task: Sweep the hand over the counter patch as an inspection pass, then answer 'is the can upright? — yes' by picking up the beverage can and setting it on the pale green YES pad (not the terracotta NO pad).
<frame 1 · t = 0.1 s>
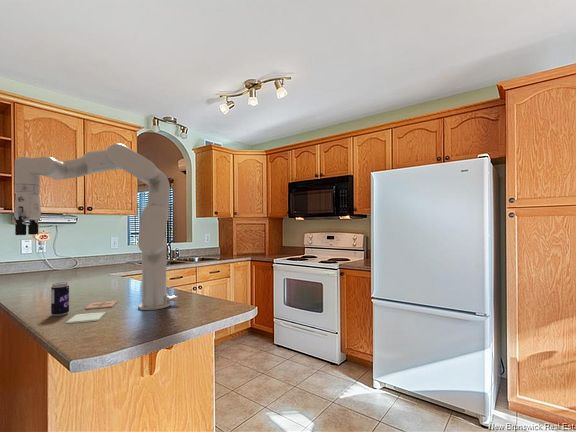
hand: (27, 234, 123), 31 cm above the countertop, fingers open, 9 cm apart
yes pad: (87, 318, 119), on the countertop
beverage can: (60, 315, 125), on the countertop
no pad: (101, 305, 138), on the countertop
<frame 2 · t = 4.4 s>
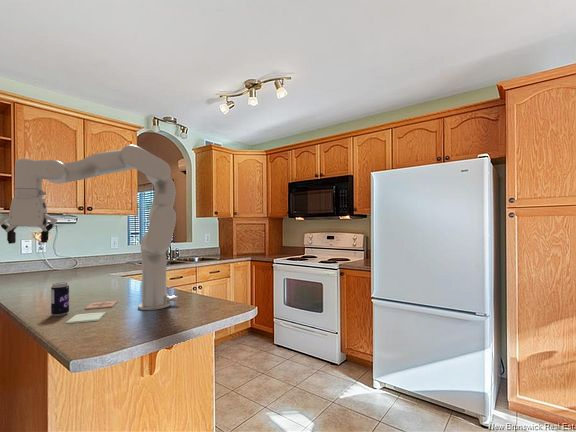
hand: (28, 242, 114), 28 cm above the countertop, fingers open, 9 cm apart
nothing on the countertop moved.
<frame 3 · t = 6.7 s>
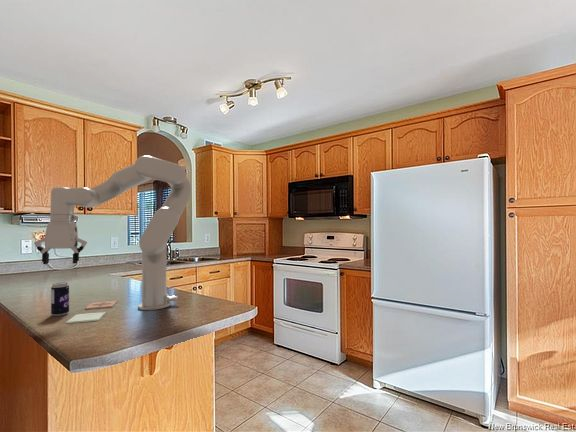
hand: (60, 263, 125), 20 cm above the countertop, fingers open, 9 cm apart
nothing on the countertop moved.
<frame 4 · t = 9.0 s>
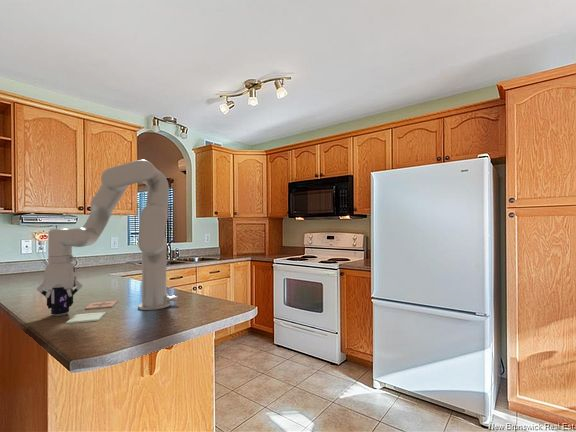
hand: (60, 306, 125), 3 cm above the countertop, fingers closed on beverage can, 5 cm apart
beverage can: (60, 315, 125), on the countertop, touching gripper
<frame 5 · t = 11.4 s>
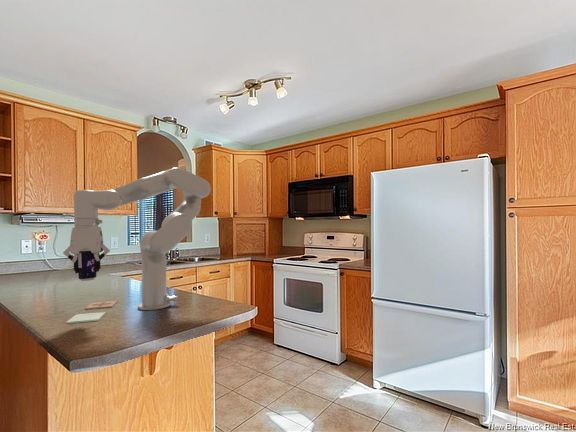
hand: (87, 271, 120), 17 cm above the countertop, fingers closed on beverage can, 5 cm apart
beverage can: (87, 280, 120), point 14 cm above the countertop, touching gripper
when the fingers open (5 cm above the countertop, at t = 14.2 s): beverage can drops 1 cm, resting on yes pad.
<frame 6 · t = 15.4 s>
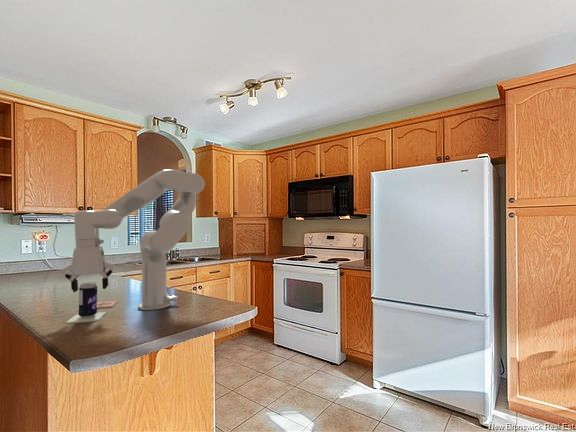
hand: (90, 289, 120), 10 cm above the countertop, fingers open, 9 cm apart
beverage can: (87, 316, 119), resting on yes pad
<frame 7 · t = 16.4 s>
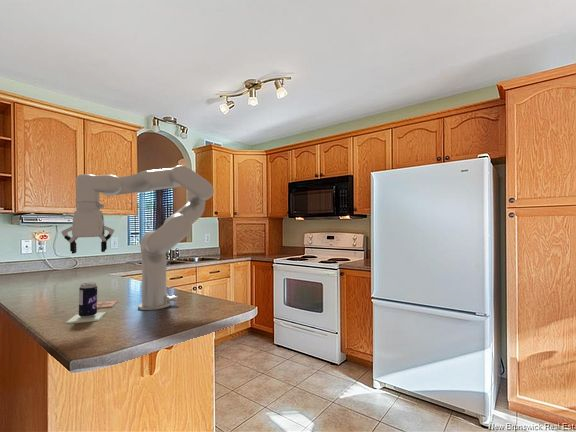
hand: (88, 252, 122), 24 cm above the countertop, fingers open, 9 cm apart
nothing on the countertop moved.
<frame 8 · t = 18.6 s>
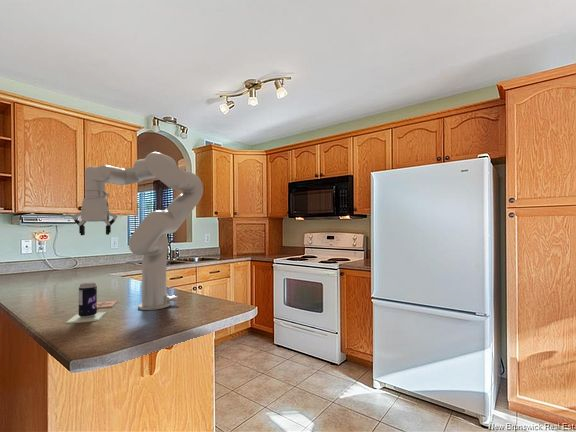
hand: (95, 234, 140), 30 cm above the countertop, fingers open, 9 cm apart
nothing on the countertop moved.
at the end: beverage can inside the target area on the yes pad (0.2 cm from its centre), point 0.4 cm above the yes pad's base; beverage can tilted 1°; the gripper is holding nothing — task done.
